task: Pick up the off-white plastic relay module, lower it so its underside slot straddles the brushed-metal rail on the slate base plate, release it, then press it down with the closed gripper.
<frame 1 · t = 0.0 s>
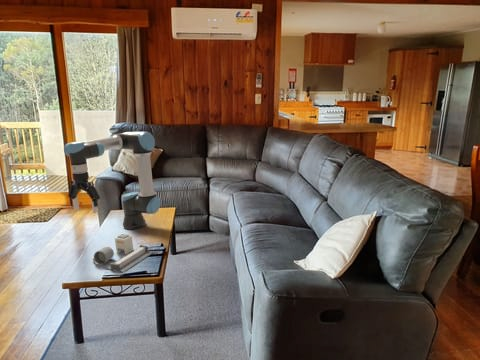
hand: (86, 211, 184), 28 cm above the table, fingers open, 13 cm apart
ceramic mug: (102, 261, 188), on the table
module: (125, 251, 199), on the table
rail base: (130, 260, 188), on the table
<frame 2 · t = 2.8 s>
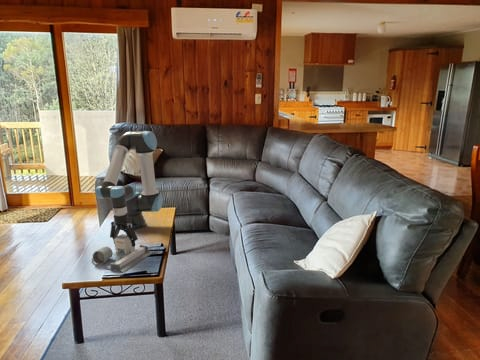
hand: (125, 250, 199), 1 cm above the table, fingers open, 11 cm apart
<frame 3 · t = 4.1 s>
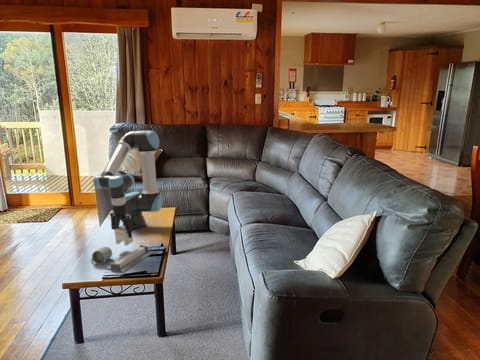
hand: (124, 241, 199), 6 cm above the table, fingers closed on module, 7 cm apart
module: (124, 242, 199), point 5 cm above the table, touching gripper
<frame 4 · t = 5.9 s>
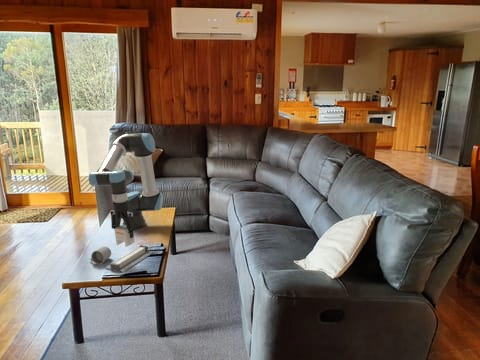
hand: (125, 242, 183), 11 cm above the table, fingers closed on module, 7 cm apart
module: (125, 243, 184), point 11 cm above the table, touching gripper
when the fingers open (2 cm above the table, at t = 7.8 s): module stays where it is, resting on rail base.
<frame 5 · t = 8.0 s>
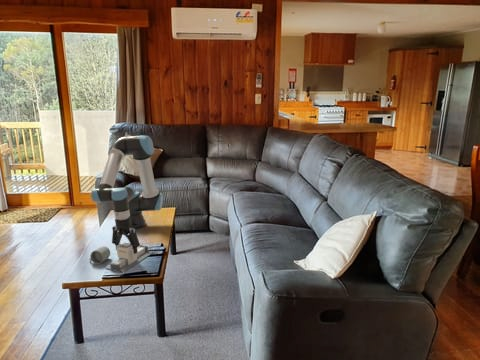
hand: (127, 257, 186), 3 cm above the table, fingers open, 9 cm apart
module: (128, 261, 186), point 1 cm above the table, touching rail base
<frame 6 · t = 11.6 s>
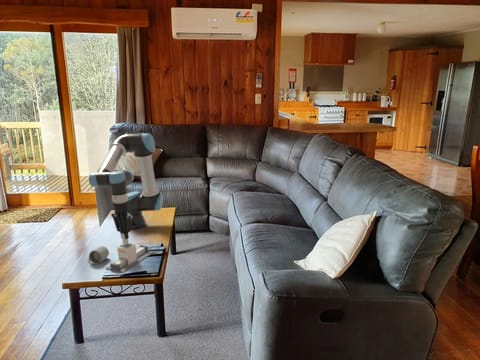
hand: (125, 244, 184), 10 cm above the table, fingers closed
module: (128, 261, 186), resting on rail base, touching gripper
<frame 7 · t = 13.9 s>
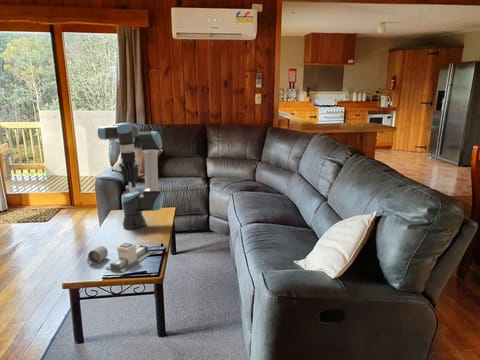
hand: (132, 192, 197), 33 cm above the table, fingers closed
module: (128, 261, 186), resting on rail base
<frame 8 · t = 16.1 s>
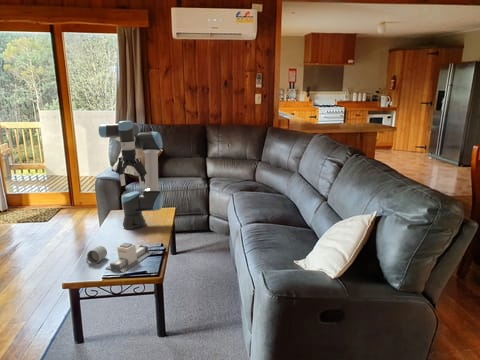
hand: (132, 186, 197), 37 cm above the table, fingers open, 13 cm apart
at the end: module inside the target area on the rail base (1.9 cm from its centre), point 0.5 cm above the rail base's base; module tilted 0°; the gripper is holding nothing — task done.
